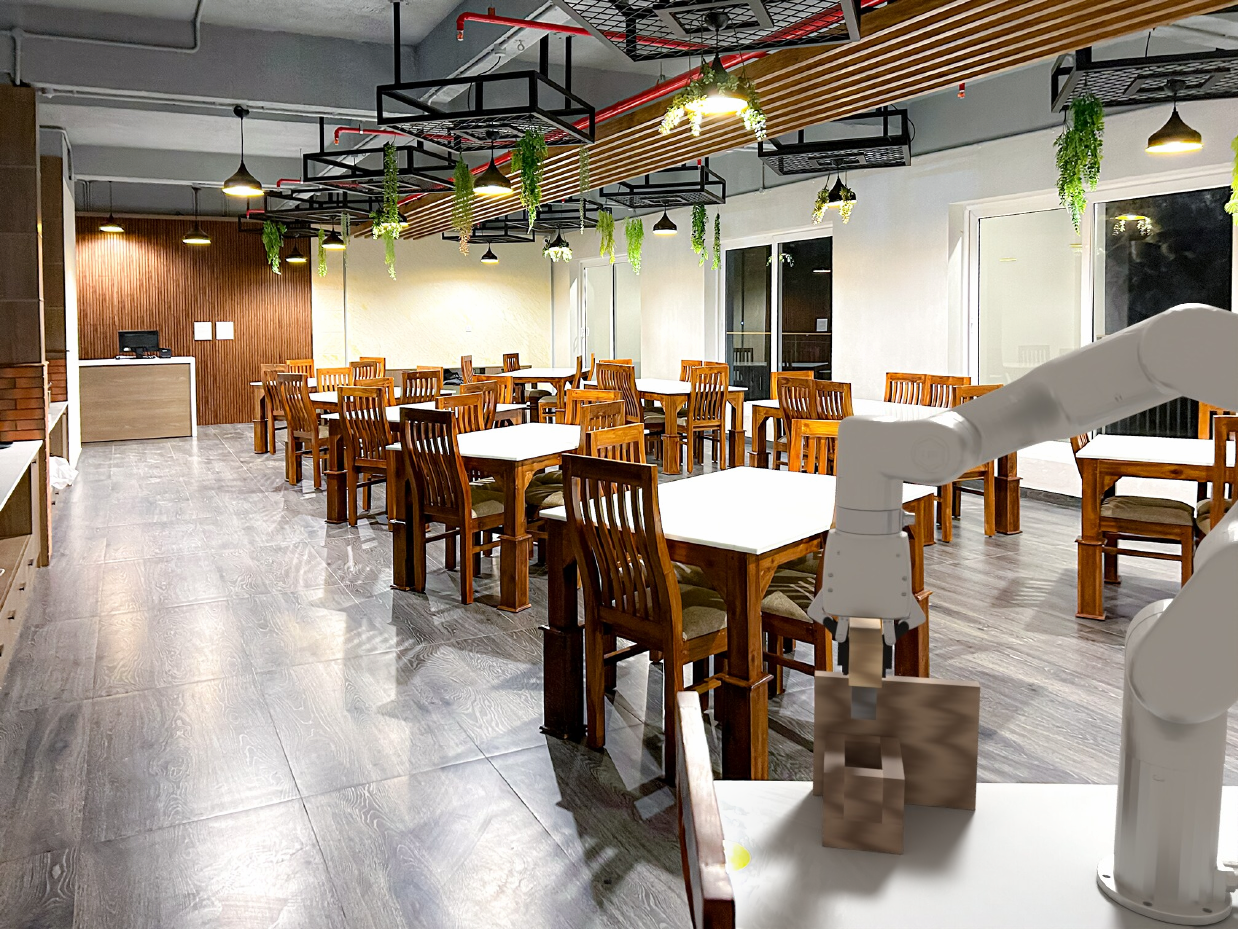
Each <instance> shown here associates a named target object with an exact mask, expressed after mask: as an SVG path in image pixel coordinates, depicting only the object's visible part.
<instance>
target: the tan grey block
mask: <svg viewBox="0 0 1238 929" xmlns="http://www.w3.org/2000/svg"><path fill="white" fill-rule="evenodd" d="M882 635H883V634H882V627H881V619H867V618H851V617H850V619H849V624H848V638H849V686H851V718H855V719H868V720H876V699H877V688H882V659H883V641H882Z"/></svg>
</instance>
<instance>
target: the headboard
mask: <svg viewBox="0 0 1238 929" xmlns="http://www.w3.org/2000/svg"><path fill="white" fill-rule="evenodd" d="M980 700H981V685H980V683H979V681H978V680H977V681H975V680H963V679H962V680H961V679H947V678H946V679H945V678H933V677H916V676H900V675H887V674H886V678H882V688H877V699H876V720H868V719H855V718H851V686H849V674H847V675H843V671H842V672H839V671H837V672H836V671H825V670H814V701H813V702H814V704H813V705H814V706H813V708H814V709H813V710H814V711H813V760H812V762H813V764H812V765H813V766H812V768H813V769H812V796H820V797H821V796H822V797H823V798H822V837H821V838H822V840H821V841H822V843H821V846H822V847H826V848H827V847H828V848H836V849H837V848H838V849H846V850H856V851H857V850H858V851H866V852H877V853H886V854H892V855H893V854H895V855H904V854H903V850H904V846H903V845H904V819H905V818H904V817H905V816H904V815H905V812H904V811H905V804H907V805H914V806H915V805H917V806H926V807H937V808H938V807H940V808H947V809H959V810H971V811H976V808H977V806H976V804H977V783H978V782H977V780H978V779H977V778H978V756H979V754H978V753H979V751H978V750H979V732H980V730H979V729H980V709H981V708H980V706H981V705H980V704H981V703H980V702H981V701H980Z"/></svg>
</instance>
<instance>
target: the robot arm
mask: <svg viewBox="0 0 1238 929" xmlns="http://www.w3.org/2000/svg"><path fill="white" fill-rule="evenodd" d="M1180 397H1185V398H1189V399H1192V400H1194V401H1198V402H1199V403H1200V402H1201V403H1203V404H1206V405H1210V406H1212V407H1216V408H1219V409H1223V410H1226V411H1230V412H1232V413H1237V414H1238V313H1237V312H1233V311H1229V310H1227V309H1223V308H1221V307H1220V308H1219V307H1216V306H1214V305H1213V306H1212V305H1209V304H1203V303H1184V304H1179V305H1175V306H1174V307H1170V308H1168V309H1166V310H1165V311H1162V312H1160V313H1157V314H1156V315H1153V316H1150V317H1148V318H1146V319H1144V320H1142V321H1140V322H1137V323H1135V324H1132V325H1130V326H1128V327H1125V328H1123V329H1120V330H1119V331H1116V332H1114V333H1112V334H1109V335H1107V336H1104V337H1102V338H1099V339H1097V340H1095V341H1093V342H1090V343H1088V344H1085V345H1083V346H1081V347H1077V348H1075V349H1074V350H1072V351H1069V352H1067V353H1064V354H1061V355H1060V356H1059V355H1058V356H1057V357H1054V358H1052V359H1050V360H1047V361H1046V362H1044V363H1041V364H1039V365H1038V366H1036V367H1034V368H1033V369H1031V370H1030V371H1029V372H1027V373H1026V374H1024V375H1023V376H1021V377H1019V378H1017V379H1015V380H1014V381H1011V382H1010V383H1007V384H1005V385H1003V386H1001V387H999V388H997V389H994V390H992V391H990V392H987V393H985V394H983V395H980V396H978V397H975V398H973V399H970V400H969V401H966V402H964V403H962V404H959V405H956V406H954V407H952V408H949V409H947V410H943V411H942V412H939V413H936V414H933V415H931V416H928V417H926V418H925V417H924V418H922V419H912V420H900V418H897V417H894V416H891V415H880V414H858V415H857V414H856V415H849V416H846V417H844V418H843V419H842V420H841V421H840V422H839V424H838V426H837V440H836V441H837V444H836V445H837V447H836V451H837V452H836V481H835V482H836V487H835V489H836V492H835V494H836V495H835V499H836V500H835V528H831V529H829V530H828V533H827V537H826V544H825V548H824V549H825V550H824V556H823V558H824V560H823V570H822V586H821V589H820V590H819V592H818V593H817V595H816V596H815V597H814V599H813V600H812V602H811V603H810V605H809V606H808V608H807V613H806V614H807V616H808V617H809V618H811V619H813V620H814V621H815V622H817V623H819V624H821V625H823V627H824V628H825V629H826V630H827V631H828V632H829V633H830V634H831V635H832V636H833V637H834V638H835V641H837V657H836V658H837V660H836V661H837V662H836V665H837V666H839V667H842V672H843V675H847V674H849V631H848V630H849V619H850V617H851V618H867V619H880V620H881V621H882V627H883V628H882V629H883V634H882V641H883V659H882V678H886V675H887V670H892V669H893V648H894V647H893V646H894V645H895V644H896V642H897V641H898V640H899V639H900V638H901V637H903V636H904V635H905V634H906V633H907V632H908V631H909V630H912V629H914V628H917V627H918V626H921V625H922V624H923V623H924V624H925V622H926V621H927V618H926V615H925V613H924V611H923V610H922V608H921V606H920V604H919V602H918V601H917V599H916V598H915V595H914V594H913V591H912V561H911V549H910V542H909V541H910V540H909V536H908V532H906V531H903V528H905V526H909V525H915V524H916V514H915V513H914V512H909V511H906V510H905V509H903V496H904V495H903V491H904V481H905V482H908V483H912V484H913V483H914V484H918V485H923V486H933V487H939V486H945V485H948V484H950V483H952V482H954V481H956V480H957V479H959V478H960V477H961V476H962V475H964V474H965V473H966V472H967V471H970V470H972V469H974V468H977V467H979V466H981V465H984V464H988V463H989V462H992V461H994V460H997V459H999V458H1002V457H1005V456H1007V455H1010V454H1012V453H1014V452H1017V451H1020V450H1023V449H1026V448H1029V447H1031V446H1035V445H1038V444H1042V443H1046V442H1050V441H1056V440H1057V441H1058V440H1059V441H1060V440H1067V439H1071V438H1072V439H1073V438H1076V437H1078V436H1082V435H1085V434H1088V433H1091V432H1093V431H1096V430H1097V429H1098V430H1099V429H1101V428H1103V427H1105V426H1108V425H1111V424H1113V423H1116V422H1118V421H1121V420H1123V419H1126V418H1129V417H1131V416H1134V415H1136V414H1139V413H1142V412H1144V411H1146V410H1149V409H1153V408H1154V407H1158V406H1161V405H1162V404H1165V403H1168V402H1170V401H1173V400H1175V399H1177V398H1180ZM834 617H837V620H836V619H835V618H834ZM894 620H895V621H897V620H898V621H897V622H895V623H894ZM1123 653H1124V654H1123V655H1124V656H1123V663H1124V664H1123V665H1124V666H1123V668H1124V670H1123V691H1122V708H1121V709H1122V711H1121V725H1120V726H1121V728H1120V743H1119V756H1118V757H1119V760H1118V773H1117V774H1118V775H1117V789H1116V790H1117V793H1116V806H1115V807H1116V810H1115V811H1116V813H1115V825H1114V826H1115V827H1114V828H1115V829H1114V840H1113V841H1114V842H1113V854H1111V855H1108V856H1106V857H1104V858H1103V859H1101V861H1099V862H1098V864H1097V868H1096V881H1097V884H1098V886H1099V887H1100V888H1101V890H1102V891H1103V892H1104V893H1105V894H1106V895H1107V896H1108V897H1109V898H1110V899H1111V900H1113V901H1115V903H1117V904H1119V905H1121V906H1122V907H1124V908H1126V909H1128V910H1130V911H1132V912H1134V913H1137V914H1140V915H1142V916H1145V917H1148V918H1150V919H1154V920H1157V921H1160V922H1166V923H1170V924H1175V925H1184V926H1205V925H1212V924H1217V923H1218V922H1220V921H1224V920H1226V918H1227V917H1229V916H1230V915H1231V913H1232V906H1233V897H1232V894H1231V893H1235V892H1236V890H1238V861H1231V860H1229V861H1226V860H1223V861H1222V860H1220V858H1219V856H1218V854H1219V853H1218V850H1219V840H1220V824H1221V823H1220V822H1221V810H1222V794H1223V784H1224V783H1223V781H1224V770H1225V769H1224V767H1225V763H1226V750H1227V734H1228V713H1229V711H1228V710H1229V709H1230V708H1231V707H1232V706H1234V705H1235V704H1236V703H1237V702H1238V499H1237V500H1236V501H1235V503H1234V504H1233V505H1232V506H1231V507H1230V508H1229V510H1228V511H1227V512H1226V514H1225V515H1224V516H1223V517H1222V518H1221V519H1220V521H1218V523H1216V524H1215V526H1214V527H1213V528H1212V529H1211V530H1210V531H1209V532H1208V534H1206V536H1205V537H1204V538H1203V539H1202V540H1201V541H1200V543H1199V545H1198V547H1197V548H1196V550H1195V553H1194V558H1193V574H1192V575H1191V576H1190V578H1188V580H1187V581H1186V583H1185V584H1184V585H1183V586H1182V588H1180V590H1179V591H1178V593H1177V594H1176V595H1175V596H1174V598H1166V599H1165V598H1164V599H1160V600H1156V601H1154V602H1151V603H1149V604H1148V605H1145V606H1144V607H1143V608H1142V609H1140V610H1139V611H1138V612H1137V613H1136V614H1135V615H1134V616H1133V619H1131V622H1130V623H1129V625H1128V628H1127V631H1126V634H1125V638H1124V652H1123Z"/></svg>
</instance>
